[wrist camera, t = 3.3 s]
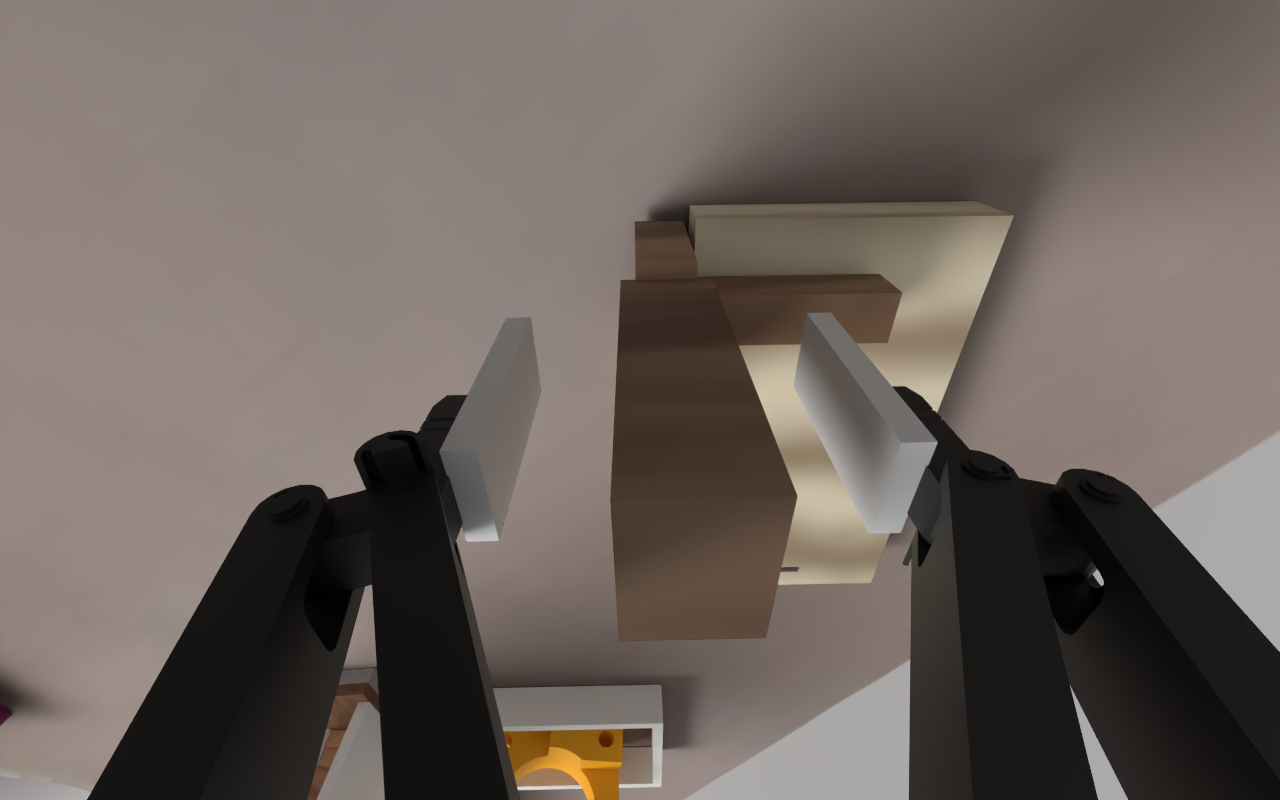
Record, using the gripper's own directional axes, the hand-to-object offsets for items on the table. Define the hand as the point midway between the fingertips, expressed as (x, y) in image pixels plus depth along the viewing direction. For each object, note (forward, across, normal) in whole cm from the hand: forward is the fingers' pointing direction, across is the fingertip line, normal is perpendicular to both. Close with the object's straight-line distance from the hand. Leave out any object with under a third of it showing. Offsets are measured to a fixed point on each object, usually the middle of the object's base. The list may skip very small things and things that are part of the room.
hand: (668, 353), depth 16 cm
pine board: (+7, +7, -8) cm, 13 cm away
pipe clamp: (+8, -9, -44) cm, 45 cm away
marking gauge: (+7, +4, 0) cm, 8 cm away
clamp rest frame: (+7, -9, -42) cm, 44 cm away
